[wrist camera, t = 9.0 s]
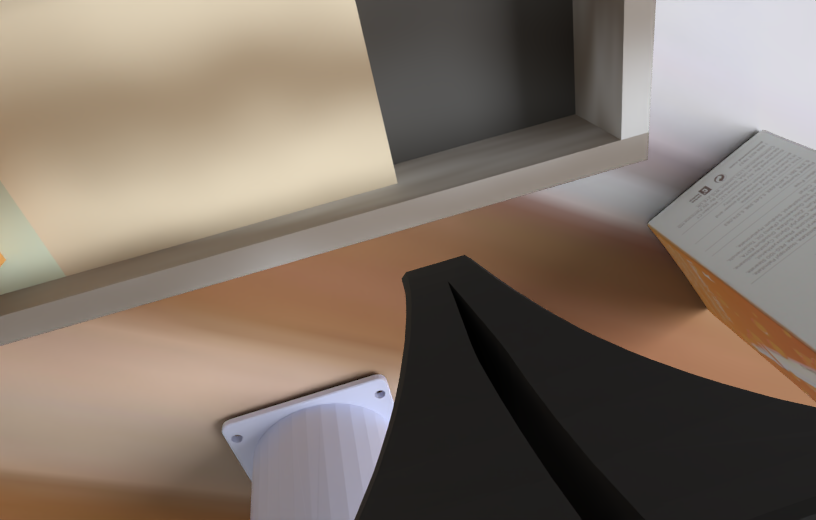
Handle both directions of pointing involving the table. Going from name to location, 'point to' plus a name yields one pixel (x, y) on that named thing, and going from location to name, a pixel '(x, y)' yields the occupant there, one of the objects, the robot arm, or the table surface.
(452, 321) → the robot arm
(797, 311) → the small box
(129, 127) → the trap lane
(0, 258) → the orange block
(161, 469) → the table surface
